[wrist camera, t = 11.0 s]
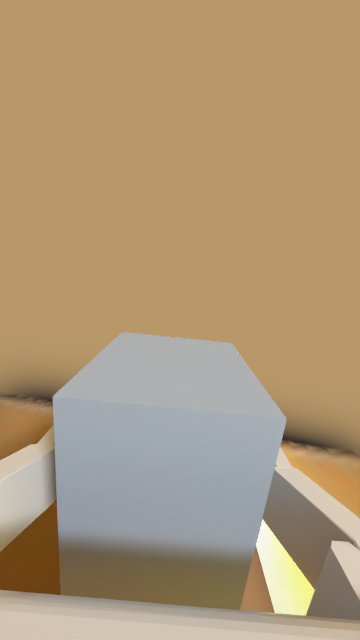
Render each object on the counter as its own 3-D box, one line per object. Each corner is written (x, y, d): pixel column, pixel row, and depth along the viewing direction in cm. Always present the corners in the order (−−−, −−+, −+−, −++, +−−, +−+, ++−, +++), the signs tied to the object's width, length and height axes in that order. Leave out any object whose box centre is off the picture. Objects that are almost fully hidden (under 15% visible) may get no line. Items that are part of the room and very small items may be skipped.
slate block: (63, 677, 6) (52, 396, 4) (115, 503, 10) (122, 331, 8) (220, 689, 6) (286, 418, 4) (203, 511, 10) (231, 343, 8)
